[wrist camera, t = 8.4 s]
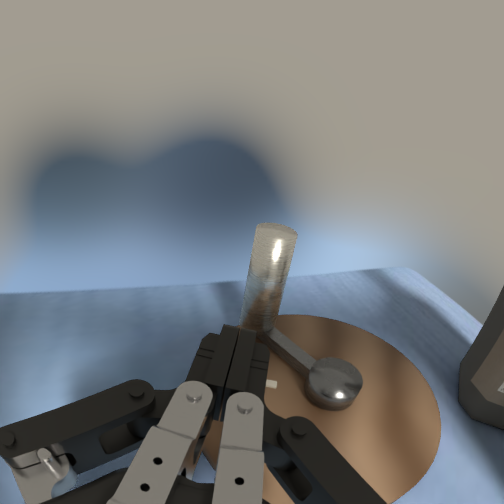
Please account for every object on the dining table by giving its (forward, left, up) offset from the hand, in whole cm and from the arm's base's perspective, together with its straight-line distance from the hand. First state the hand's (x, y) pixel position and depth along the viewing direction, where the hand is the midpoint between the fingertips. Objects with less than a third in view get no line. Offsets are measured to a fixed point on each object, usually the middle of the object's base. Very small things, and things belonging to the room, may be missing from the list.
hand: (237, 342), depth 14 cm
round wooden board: (-7, -5, -10) cm, 13 cm away
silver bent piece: (-4, -8, -8) cm, 12 cm away
